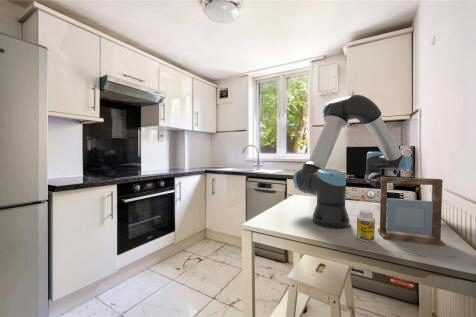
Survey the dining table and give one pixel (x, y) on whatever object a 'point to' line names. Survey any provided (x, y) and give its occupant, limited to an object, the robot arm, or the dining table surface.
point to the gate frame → (436, 211)
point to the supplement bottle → (365, 226)
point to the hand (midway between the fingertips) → (390, 186)
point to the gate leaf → (409, 216)
